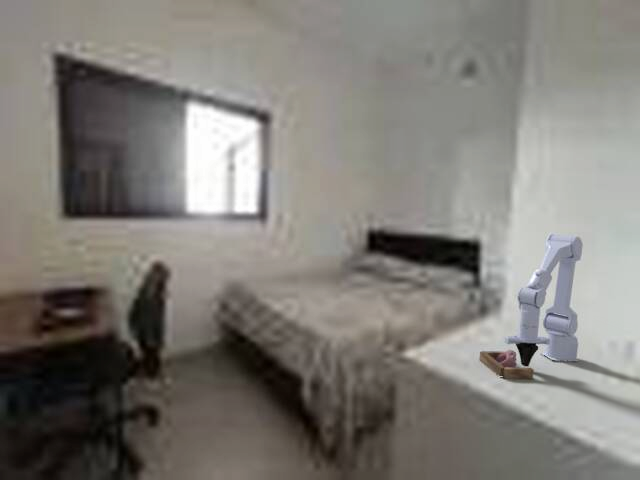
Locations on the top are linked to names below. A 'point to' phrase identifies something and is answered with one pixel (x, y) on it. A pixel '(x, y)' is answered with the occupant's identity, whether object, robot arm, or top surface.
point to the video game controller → (507, 358)
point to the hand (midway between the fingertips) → (524, 365)
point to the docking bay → (506, 372)
